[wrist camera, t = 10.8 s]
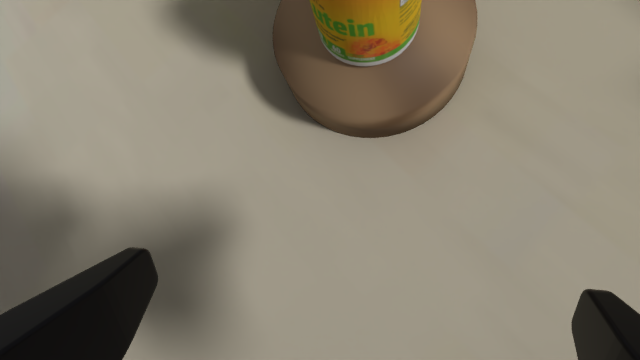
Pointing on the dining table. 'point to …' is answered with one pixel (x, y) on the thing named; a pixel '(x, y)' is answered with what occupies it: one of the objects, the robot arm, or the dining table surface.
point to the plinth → (376, 70)
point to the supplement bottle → (366, 28)
